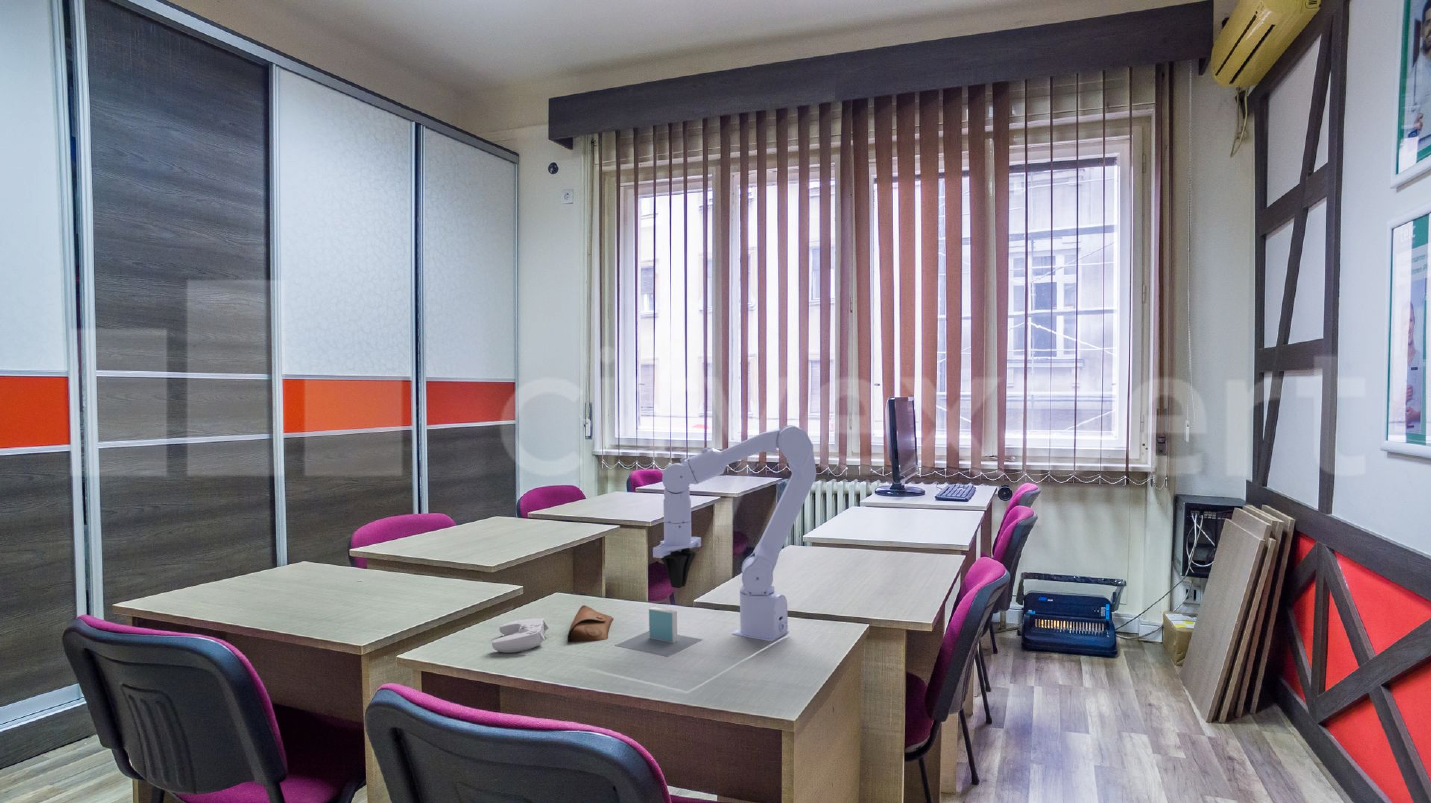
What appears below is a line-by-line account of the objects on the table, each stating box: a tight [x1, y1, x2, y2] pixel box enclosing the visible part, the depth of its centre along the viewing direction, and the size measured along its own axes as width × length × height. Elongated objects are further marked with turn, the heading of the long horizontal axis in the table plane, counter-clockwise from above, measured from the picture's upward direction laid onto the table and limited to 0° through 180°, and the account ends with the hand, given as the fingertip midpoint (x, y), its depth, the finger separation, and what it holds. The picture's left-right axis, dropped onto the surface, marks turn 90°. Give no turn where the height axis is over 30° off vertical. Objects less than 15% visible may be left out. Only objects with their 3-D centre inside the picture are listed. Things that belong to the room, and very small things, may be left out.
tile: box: [648, 606, 678, 643], centre depth 155 cm, size 6×2×6 cm, turn 57°
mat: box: [614, 630, 704, 658], centre depth 153 cm, size 13×12×1 cm
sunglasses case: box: [567, 604, 615, 643], centre depth 163 cm, size 18×7×7 cm
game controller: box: [491, 618, 550, 654], centre depth 155 cm, size 14×4×10 cm
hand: (678, 586), depth 160 cm, fingers closed
